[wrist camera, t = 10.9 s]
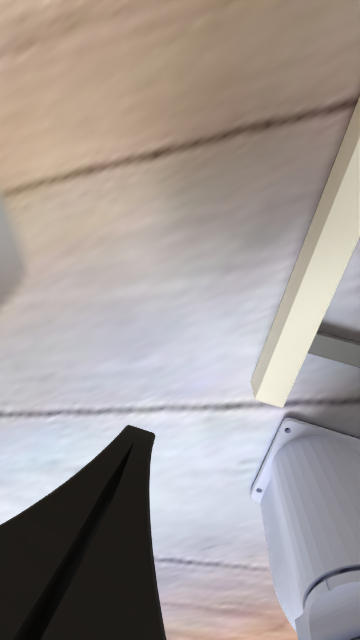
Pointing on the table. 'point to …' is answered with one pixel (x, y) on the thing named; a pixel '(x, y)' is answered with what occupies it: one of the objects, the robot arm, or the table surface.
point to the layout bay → (315, 281)
